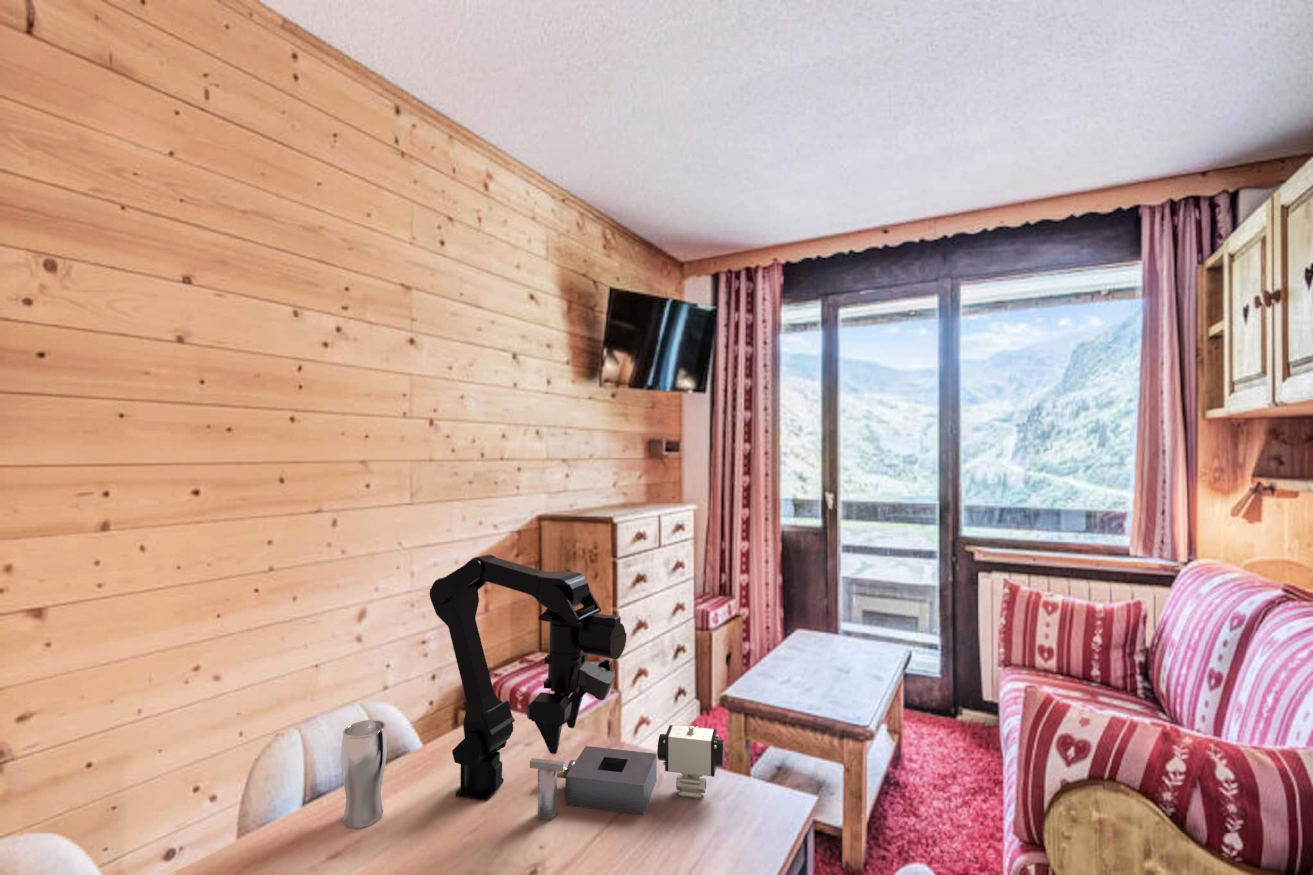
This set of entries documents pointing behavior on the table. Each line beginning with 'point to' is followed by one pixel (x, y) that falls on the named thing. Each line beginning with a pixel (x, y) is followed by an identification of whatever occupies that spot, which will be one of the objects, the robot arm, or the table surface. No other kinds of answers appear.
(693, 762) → the pneumatic valve
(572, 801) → the block
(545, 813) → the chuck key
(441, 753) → the table surface
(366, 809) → the beer glass
